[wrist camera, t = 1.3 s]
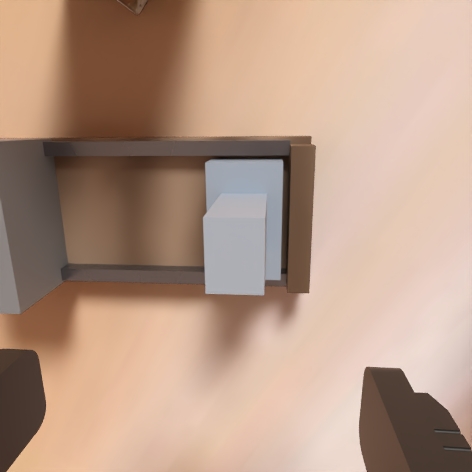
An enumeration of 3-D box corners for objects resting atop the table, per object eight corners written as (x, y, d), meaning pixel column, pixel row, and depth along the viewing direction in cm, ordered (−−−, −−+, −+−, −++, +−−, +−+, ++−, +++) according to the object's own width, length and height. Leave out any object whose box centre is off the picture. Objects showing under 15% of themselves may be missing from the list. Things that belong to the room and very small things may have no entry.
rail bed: (309, 136, 29) (315, 137, 24) (303, 276, 32) (308, 299, 27) (-11, 138, 31) (-57, 140, 26) (12, 269, 34) (-26, 290, 29)
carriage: (282, 158, 28) (287, 175, 18) (279, 265, 30) (283, 331, 20) (212, 158, 28) (180, 176, 18) (214, 263, 30) (187, 328, 21)
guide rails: (289, 139, 27) (290, 140, 26) (285, 280, 30) (286, 286, 29) (51, 141, 29) (42, 141, 28) (69, 274, 32) (62, 280, 31)
